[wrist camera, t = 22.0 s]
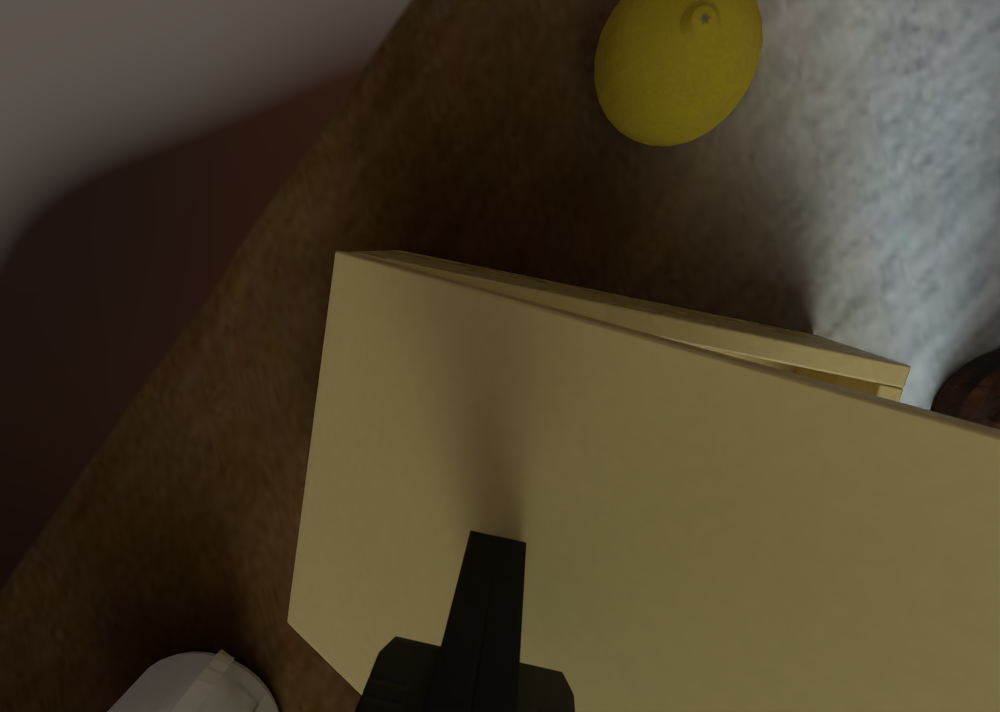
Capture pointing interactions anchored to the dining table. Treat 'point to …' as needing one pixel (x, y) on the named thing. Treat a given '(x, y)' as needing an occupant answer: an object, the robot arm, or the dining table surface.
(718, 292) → the dining table surface
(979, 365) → the mortar and pestle
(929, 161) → the dining table surface
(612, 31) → the lemon
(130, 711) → the mug
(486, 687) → the robot arm
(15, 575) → the dining table surface
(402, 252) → the open rectangular box
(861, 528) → the lid
